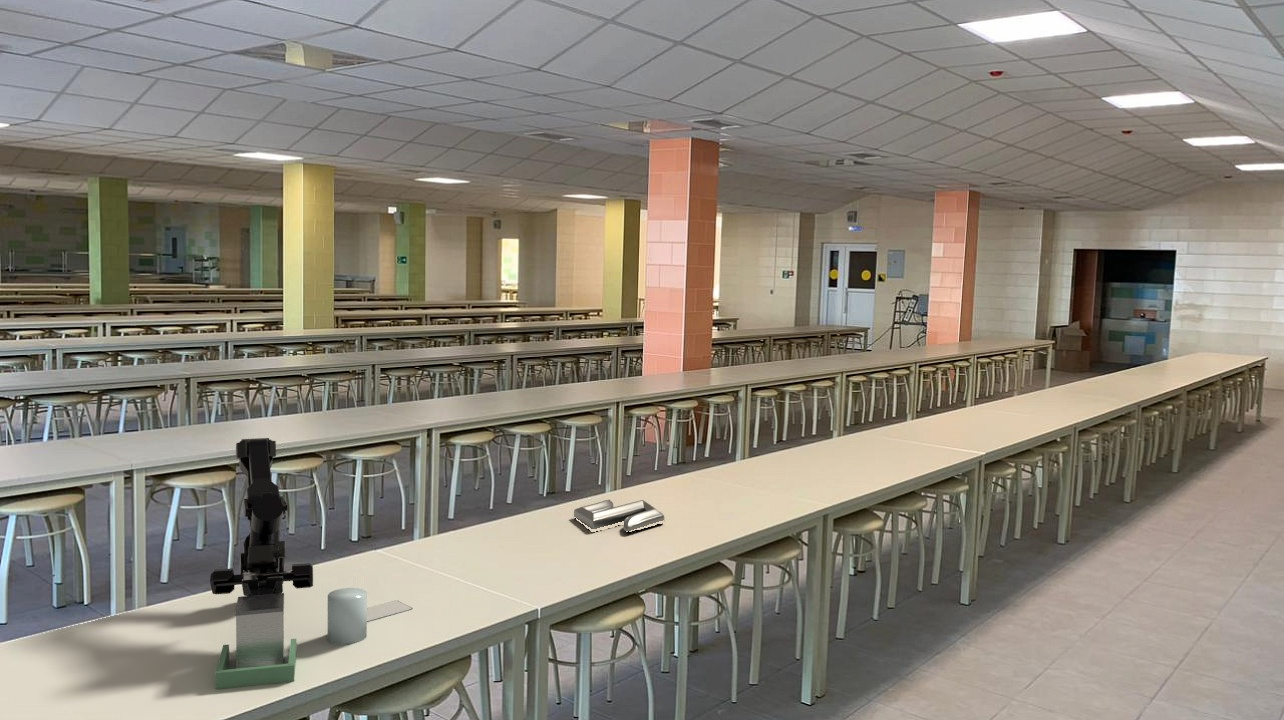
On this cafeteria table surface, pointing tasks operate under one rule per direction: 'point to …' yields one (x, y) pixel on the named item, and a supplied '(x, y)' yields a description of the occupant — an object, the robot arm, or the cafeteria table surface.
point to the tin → (259, 630)
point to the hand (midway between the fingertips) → (261, 618)
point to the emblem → (618, 514)
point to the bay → (254, 671)
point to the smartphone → (386, 610)
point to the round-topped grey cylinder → (347, 615)
